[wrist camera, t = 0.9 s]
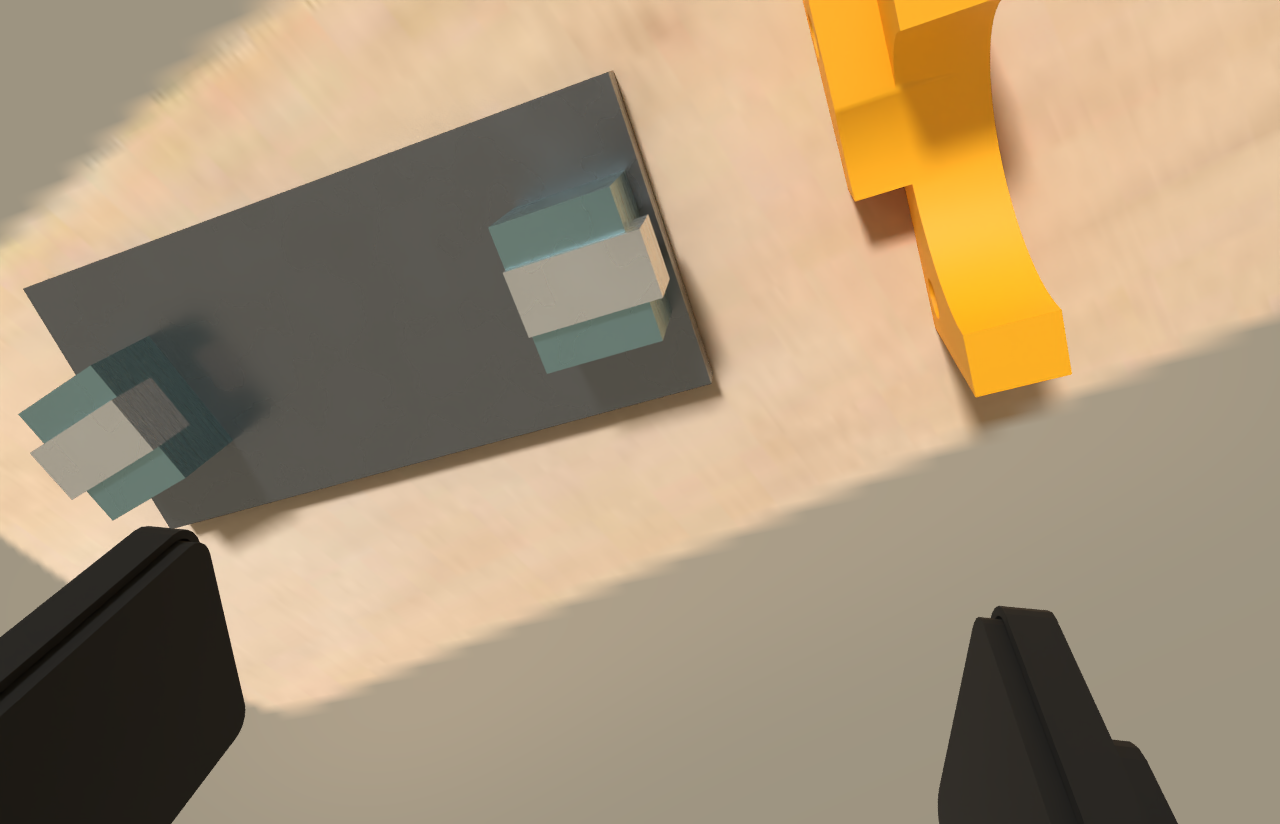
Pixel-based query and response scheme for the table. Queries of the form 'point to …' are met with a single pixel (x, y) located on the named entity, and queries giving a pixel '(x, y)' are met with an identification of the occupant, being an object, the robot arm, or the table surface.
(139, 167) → the table surface
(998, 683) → the robot arm
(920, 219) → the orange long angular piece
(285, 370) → the workpiece vise
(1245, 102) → the table surface
